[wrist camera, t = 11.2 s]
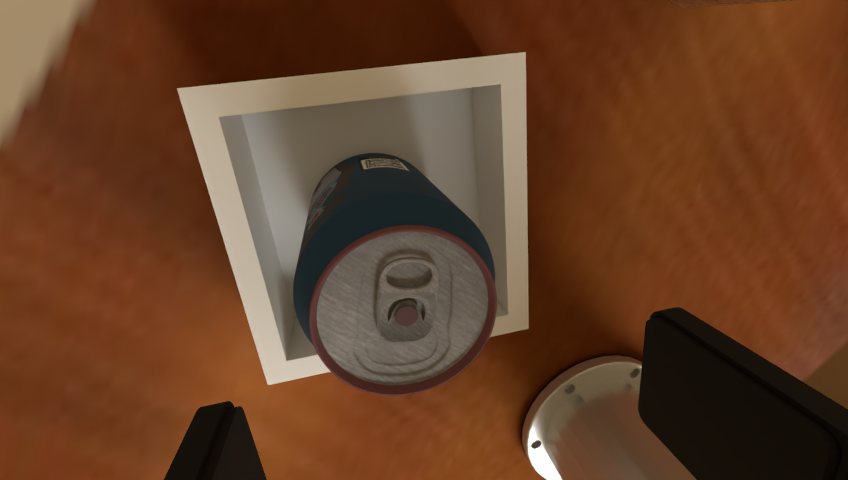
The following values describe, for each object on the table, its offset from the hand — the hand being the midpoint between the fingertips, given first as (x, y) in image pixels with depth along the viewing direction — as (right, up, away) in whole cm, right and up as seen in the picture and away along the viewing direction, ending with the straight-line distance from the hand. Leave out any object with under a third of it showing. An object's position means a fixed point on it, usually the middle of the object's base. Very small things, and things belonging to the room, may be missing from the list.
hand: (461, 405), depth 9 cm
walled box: (-4, +6, +15) cm, 16 cm away
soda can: (-4, +5, +14) cm, 16 cm away
